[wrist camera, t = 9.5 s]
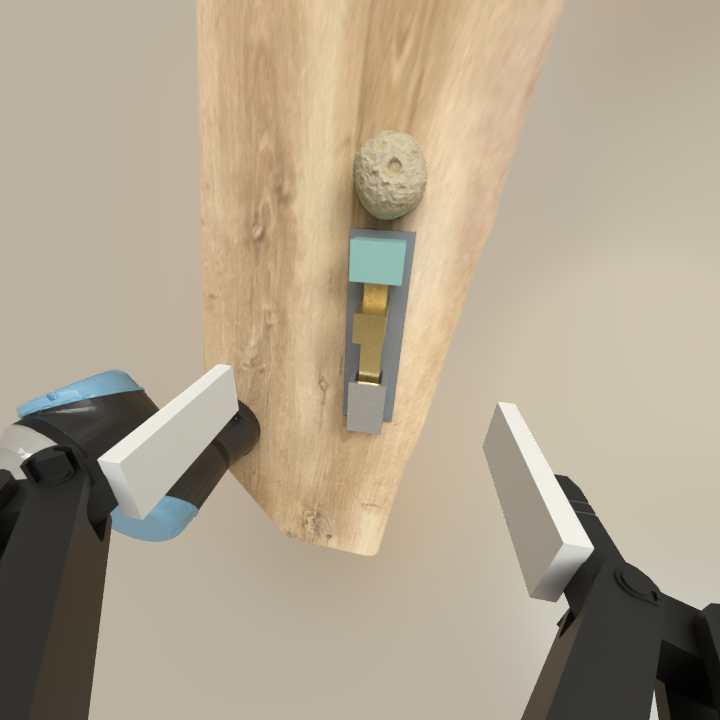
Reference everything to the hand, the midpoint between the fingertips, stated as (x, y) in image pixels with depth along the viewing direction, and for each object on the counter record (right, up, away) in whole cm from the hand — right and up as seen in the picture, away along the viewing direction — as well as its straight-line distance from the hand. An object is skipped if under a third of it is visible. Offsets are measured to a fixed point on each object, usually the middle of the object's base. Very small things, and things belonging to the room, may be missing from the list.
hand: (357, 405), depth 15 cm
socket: (+3, +17, +28) cm, 33 cm away
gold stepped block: (+2, +8, +31) cm, 32 cm away
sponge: (+4, +26, +24) cm, 35 cm away
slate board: (+3, +6, +33) cm, 34 cm away
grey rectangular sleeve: (+2, -3, +38) cm, 38 cm away
